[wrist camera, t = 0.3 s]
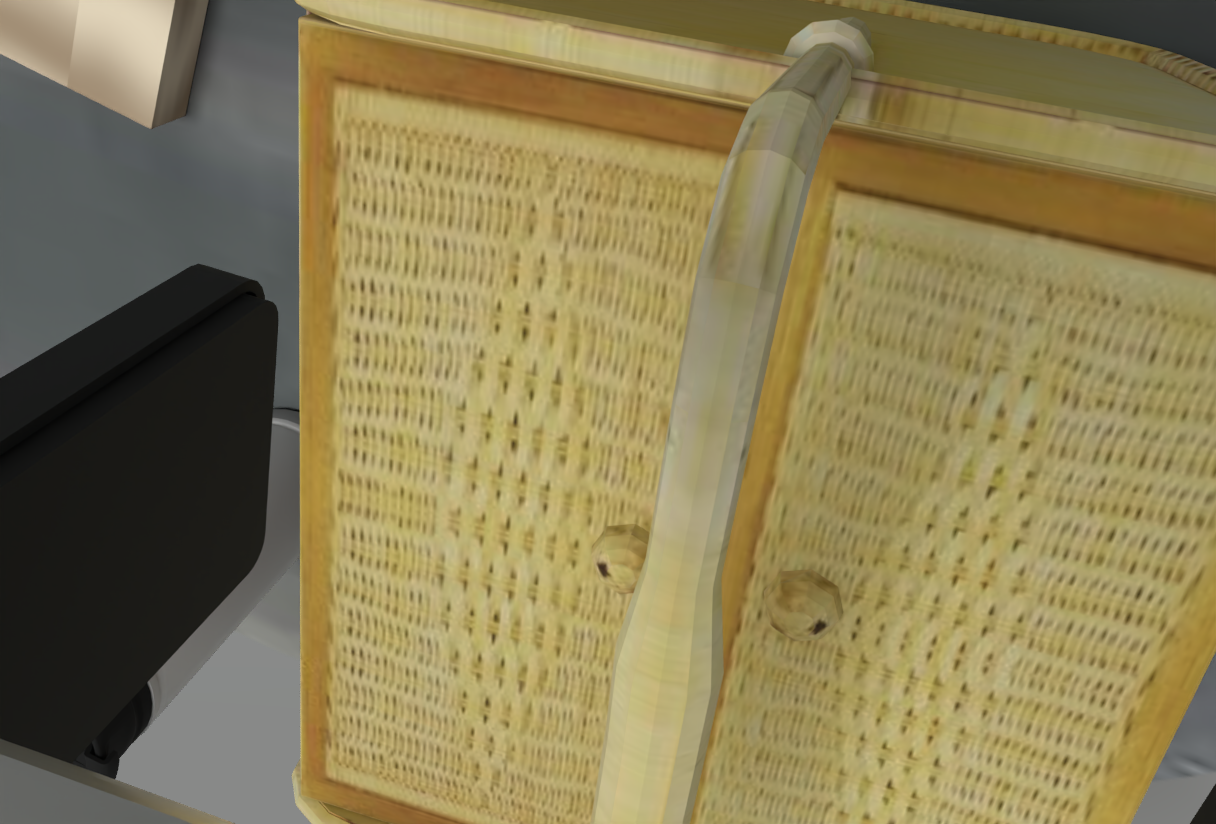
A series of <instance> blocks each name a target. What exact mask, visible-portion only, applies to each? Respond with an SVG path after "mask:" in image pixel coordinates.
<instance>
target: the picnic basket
mask: <svg viewBox="0 0 1216 824" xmlns="http://www.w3.org/2000/svg"><path fill="white" fill-rule="evenodd" d="M295 2H296V3H297V4H299V5H300V6H302V7H304V8H305V9H306V15H305V16H302V17H299V352H300V708H301V709H300V713H301V714H300V720H301V721H300V722H301V723H300V728H301V729H300V730H301V758H300V760H299V762H298V764H297V765H296V767H295V769H294V771H293V774H292V781H293V787H294V795H295V802H296V805H297V807H298V808H299V809H300V811H301V812H302V813H303V814H304V815H305V816H306V817H307V819H308V820H309V821H310V822H311V823H312V824H1131V822H1132V820H1133V818H1134V816H1135V813H1136V812H1137V809H1138V808H1139V805H1140V804H1141V802H1142V800H1143V797H1144V796H1145V793H1146V791H1147V789H1148V787H1149V785H1150V783H1151V781H1152V779H1153V777H1154V775H1155V773H1156V771H1157V769H1158V767H1159V765H1160V763H1161V761H1162V759H1163V757H1164V755H1165V753H1166V751H1167V749H1168V747H1169V745H1170V743H1171V741H1172V739H1173V737H1174V735H1175V733H1176V731H1177V729H1178V727H1179V725H1180V723H1181V721H1182V719H1183V717H1184V715H1185V713H1186V711H1187V709H1188V707H1189V704H1190V702H1191V700H1192V698H1193V696H1194V694H1195V692H1196V690H1197V688H1198V686H1199V684H1200V682H1201V680H1202V678H1203V676H1204V674H1205V672H1206V670H1207V668H1208V666H1209V664H1210V662H1211V660H1212V658H1213V656H1214V654H1215V652H1216V69H1214V68H1211V67H1209V66H1207V65H1204V64H1202V63H1199V62H1197V61H1194V60H1192V59H1189V58H1187V57H1184V56H1182V55H1179V54H1176V53H1173V52H1169V51H1166V50H1163V49H1160V48H1155V47H1151V46H1147V45H1143V44H1139V43H1135V42H1130V41H1126V40H1121V39H1116V38H1112V37H1107V36H1102V35H1097V34H1093V33H1088V32H1082V31H1077V30H1071V29H1066V28H1061V27H1055V26H1050V25H1044V24H1038V23H1033V22H1027V21H1021V20H1015V19H1010V18H1004V17H998V16H992V15H987V14H981V13H975V12H969V11H964V10H958V9H952V8H946V7H941V6H935V5H929V4H923V3H918V2H912V1H906V0H295Z"/></svg>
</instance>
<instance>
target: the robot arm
mask: <svg viewBox="0 0 1216 824" xmlns="http://www.w3.org/2000/svg"><path fill="white" fill-rule="evenodd" d="M277 335H278V311H277V307H276V305H275V304H274V303H273V302H271V301H268V300H265V295H264V292H263V289H262V286H261V285H260V284H259V283H258V282H257V281H255V280H251V279H248V278H245V277H241V276H238V275H235V274H232V273H228V272H225V271H222V270H219V269H215V268H212V267H209V266H205V265H201V264H197V265H194V266H191V267H189V268H187V269H185V270H184V271H182V272H180V273H179V274H177V275H175V276H174V277H172V278H170V279H168V280H167V281H165V282H163V283H162V284H160V285H158V286H156V287H155V288H153V289H151V290H150V291H148V292H146V293H145V294H143V295H141V296H139V297H138V298H136V299H134V300H133V301H131V302H129V303H128V304H126V305H124V306H122V307H121V308H119V309H117V310H116V311H114V312H112V313H111V314H109V315H107V316H105V317H104V318H102V319H100V320H99V321H97V322H95V323H94V324H92V325H90V326H88V327H87V328H85V329H83V330H82V331H80V332H78V333H77V334H75V335H73V336H71V337H70V338H68V339H66V340H65V341H63V342H61V343H60V344H58V345H56V346H54V347H53V348H51V349H49V350H48V351H46V352H44V353H43V354H41V355H39V356H37V357H36V358H34V359H32V360H31V361H29V362H27V363H26V364H24V365H22V366H20V367H19V368H17V369H15V370H14V371H12V372H10V373H8V374H7V375H5V376H3V377H2V378H0V824H235V823H232V822H229V821H226V820H223V819H221V818H218V817H216V816H213V815H210V814H207V813H205V812H202V811H199V810H197V809H194V808H191V807H188V806H186V805H183V804H180V803H177V802H175V801H172V800H169V799H166V798H163V797H161V796H158V795H156V794H153V793H150V792H147V791H145V790H142V789H139V788H136V787H134V786H131V785H128V784H126V783H123V782H120V781H118V780H115V779H112V778H109V777H107V776H104V775H101V774H99V773H96V772H93V771H90V770H87V769H84V768H82V767H79V766H76V765H73V764H72V763H73V762H74V761H75V760H76V758H77V757H78V756H79V755H80V754H81V753H82V752H83V751H84V750H85V749H86V748H87V747H88V746H89V745H90V743H91V742H92V741H93V740H94V739H95V738H96V737H97V736H98V735H99V734H100V733H101V732H102V731H103V730H104V728H105V727H106V726H107V725H108V724H109V723H110V722H111V721H112V720H113V719H114V718H115V717H116V716H117V714H118V713H119V712H120V711H121V710H122V709H123V708H124V707H125V706H126V705H127V704H128V703H129V702H130V701H131V699H132V698H133V697H134V696H135V695H136V694H137V693H138V692H139V691H140V690H141V689H142V688H143V687H144V686H145V684H146V683H147V682H148V681H149V680H150V679H151V678H152V677H153V676H154V675H155V674H156V673H157V672H158V671H159V669H160V668H161V667H162V666H163V665H164V664H165V663H166V662H167V661H168V660H169V659H170V658H171V657H172V656H173V654H174V653H175V652H176V651H177V650H178V649H179V648H180V647H181V646H182V645H183V644H184V643H185V642H186V640H187V639H188V638H189V637H190V636H191V635H192V634H193V633H194V632H195V631H196V630H197V629H198V628H199V627H200V625H201V624H202V623H203V622H204V621H205V620H206V619H207V618H208V617H209V616H210V615H211V614H212V613H213V612H214V610H215V609H216V608H217V607H218V606H219V605H220V604H221V603H222V602H223V601H224V600H225V599H226V598H227V597H228V595H229V594H230V593H231V592H232V591H233V590H234V589H235V588H236V587H237V586H238V585H239V584H240V583H241V581H242V580H243V579H244V578H245V577H246V576H247V575H248V574H249V573H250V571H251V570H252V569H253V567H254V566H255V564H256V562H257V560H258V558H259V556H260V553H261V551H262V548H263V544H264V540H265V533H266V516H267V500H268V483H269V467H270V450H271V434H272V417H273V401H274V384H275V368H276V351H277ZM1190 824H1216V784H1215V786H1214V787H1213V789H1212V790H1211V792H1210V793H1209V795H1208V797H1207V798H1206V800H1205V801H1204V803H1203V804H1202V806H1201V807H1200V809H1199V811H1198V812H1197V814H1196V815H1195V817H1194V818H1193V820H1192V821H1191V823H1190Z"/></svg>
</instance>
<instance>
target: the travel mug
mask: <svg viewBox="0 0 1216 824" xmlns="http://www.w3.org/2000/svg"><path fill="white" fill-rule="evenodd" d="M299 557H300V412H297V411H292V410H287V409H273V417H272V434H271V450H270V467H269V483H268V500H267V516H266V533H265V540H264V544H263V548H262V551H261V553H260V556H259V558H258V560H257V562H256V564H255V566H254V567H253V569H252V570H251V571H250V573H249V574H248V575H247V576H246V577H245V578H244V579H243V580H242V581H241V583H240V584H239V585H238V586H237V587H236V588H235V589H234V590H233V591H232V592H231V593H230V594H229V595H228V597H227V598H226V599H225V600H224V601H223V602H222V603H221V604H220V605H219V606H218V607H217V608H216V609H215V610H214V612H213V613H212V614H211V615H210V616H209V617H208V618H207V619H206V620H205V621H204V622H203V623H202V624H201V625H200V627H199V628H198V629H197V630H196V631H195V632H194V633H193V634H192V635H191V636H190V637H189V638H188V639H187V640H186V642H185V643H184V644H183V645H182V646H181V647H180V648H179V649H178V650H177V651H176V652H175V653H174V654H173V656H172V657H171V658H170V659H169V660H168V661H167V662H166V663H165V664H164V665H163V666H162V667H161V668H160V669H159V671H158V672H157V673H156V674H155V675H154V676H153V677H152V678H151V679H150V680H149V681H148V682H147V683H146V684H145V686H144V687H143V688H142V689H141V690H140V691H139V692H138V693H137V694H136V695H135V696H134V697H133V698H132V699H131V701H130V702H129V703H128V704H127V705H126V706H125V707H124V708H123V709H122V710H121V711H120V712H119V713H118V714H117V716H116V717H115V718H114V719H113V720H112V721H111V722H110V723H109V724H108V725H107V726H106V727H105V728H104V730H103V731H102V732H101V733H100V734H99V735H98V736H97V737H96V738H95V739H94V740H93V741H92V742H91V743H90V745H89V746H88V747H87V748H86V749H85V750H84V751H83V752H82V753H81V754H80V755H79V756H78V757H77V758H76V760H75V761H74V762H73V763H72V764H73V765H76V766H79V767H82V768H84V769H87V770H90V771H93V772H96V773H99V774H101V775H104V776H107V777H109V778H112V779H115V778H116V775H117V771H118V766H119V758H120V757H121V756H122V755H123V754H124V752H125V751H126V750H127V749H128V747H129V746H130V745H131V744H132V743H133V742H134V741H135V740H136V739H137V738H138V737H139V736H140V735H142V734H143V733H144V732H145V731H146V730H147V729H148V728H149V726H150V725H151V724H152V723H153V721H154V720H155V719H156V718H157V717H158V716H159V715H160V714H161V713H162V712H163V711H164V709H165V708H166V707H167V706H168V705H169V704H170V703H171V701H172V700H173V699H174V698H175V697H176V696H177V695H178V693H179V692H180V691H181V690H182V689H183V688H184V687H185V686H186V685H187V683H188V682H189V681H190V680H191V679H192V678H193V676H194V675H195V674H196V673H197V672H198V671H199V670H200V669H201V668H202V666H203V665H204V664H205V663H206V662H207V661H208V659H209V658H210V657H211V656H212V655H213V654H214V653H215V652H216V651H217V649H218V648H219V647H220V646H221V645H222V644H223V643H224V641H225V640H226V639H227V638H228V637H229V636H230V634H232V632H233V631H234V630H235V629H236V628H237V627H238V626H239V624H240V623H241V622H242V621H243V620H244V619H245V618H246V617H247V615H248V614H249V613H250V612H251V611H252V610H253V609H254V607H255V606H256V605H257V604H258V603H259V602H260V601H261V600H262V598H263V597H264V596H265V595H266V594H267V593H268V592H269V590H270V589H271V588H272V587H273V586H274V585H275V584H276V583H277V581H278V580H279V579H280V578H281V577H282V576H283V575H284V573H285V572H286V571H287V570H288V569H289V568H290V567H291V566H292V564H293V563H294V562H295V561H296V560H297V559H298V558H299Z"/></svg>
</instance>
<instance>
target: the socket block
mask: <svg viewBox="0 0 1216 824" xmlns="http://www.w3.org/2000/svg"><path fill="white" fill-rule="evenodd" d="M208 1H209V0H0V54H2V55H4V56H6V57H8V58H10V59H12V60H14V61H16V62H18V63H20V64H22V65H24V66H26V67H28V68H30V69H32V70H34V71H36V72H38V73H40V74H42V75H44V76H46V77H48V78H50V79H52V80H54V81H56V82H58V83H60V84H62V85H64V86H66V87H68V88H70V89H72V90H74V91H76V92H78V93H80V94H82V95H84V96H86V97H88V98H90V99H92V100H94V101H96V102H98V103H100V104H102V105H104V106H106V107H108V108H110V109H112V110H114V111H116V112H118V113H120V114H122V115H124V116H126V117H128V118H130V119H132V120H134V121H136V122H138V123H140V124H142V125H144V126H146V127H148V128H150V129H153V128H155V127H158V126H160V125H163V124H165V123H168V122H170V121H173V120H175V119H178V118H181V117H183V116H185V115H186V110H187V105H188V100H189V95H190V90H191V85H192V80H193V75H194V70H195V65H196V60H197V55H198V50H199V45H200V40H201V35H202V30H203V25H204V21H205V16H206V11H207V6H208Z"/></svg>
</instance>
